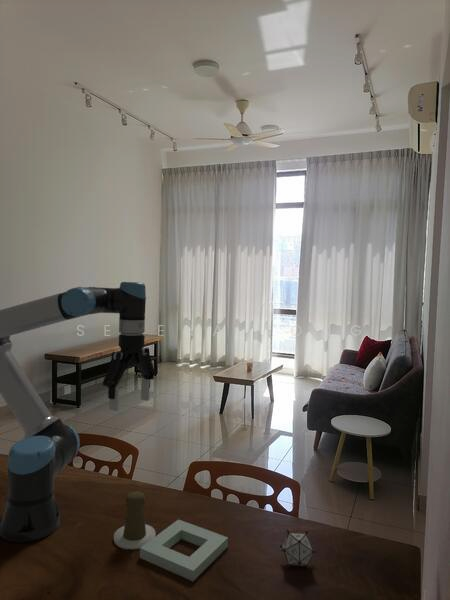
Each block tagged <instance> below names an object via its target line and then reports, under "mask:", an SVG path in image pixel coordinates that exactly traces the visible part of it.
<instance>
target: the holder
mask: <svg viewBox="0 0 450 600" xmlns="http://www.w3.org/2000/svg"><path fill="white" fill-rule="evenodd" d="M181 540H183V541H186V542H188V543H190V544H193V545H195V546H198V548H197V549H196V550H195V551H194V552H193V553H192V554H191V555H190V556H188V555H185V554H183V553H181V552H178V551H176V550H174V549H171V548H172V547H173V546H174V545H176V544H177V543H178V542H180V541H181ZM228 547H229V537H227V536H225V535H222V534H219V533H218V532H214V531H211V530H208V529H206V528H204V527H200V526H199V525H198V526H197V525H194V524H192V523H189V522H186V521H184V520H180V519H177V520H176V521H174V522H173V523H172V524H171V525H169V526H168V527H166V528H165V529H164V530H162V531H161V532H160V533H158V534H157V535H156V536H155V537H154V538H153V539H151V540H150V541H149V542H147V543H146V544H145V545H143V546H142V547H141V548H140V549H139V559H141V560H144V561H146V562H148V563H150V564H153V565H154V566H155V565H156V566H157V567H160V568H162V569H164V570H166V571H169V572H171V573H173V574H175V575H178V576H180V577H183V578H185V579H186V580H189V581H191V582H195V580H196V579H198V578H199V576H200V575H201V574H202V573H203V572H204V571H205V570H206V569H207V568H208V567H209V566H211V564H212V563H214V561H215V560H217V558H218V557H219V556H220V555H221V554H223V553H224V552H225V550H227V548H228Z"/></svg>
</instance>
